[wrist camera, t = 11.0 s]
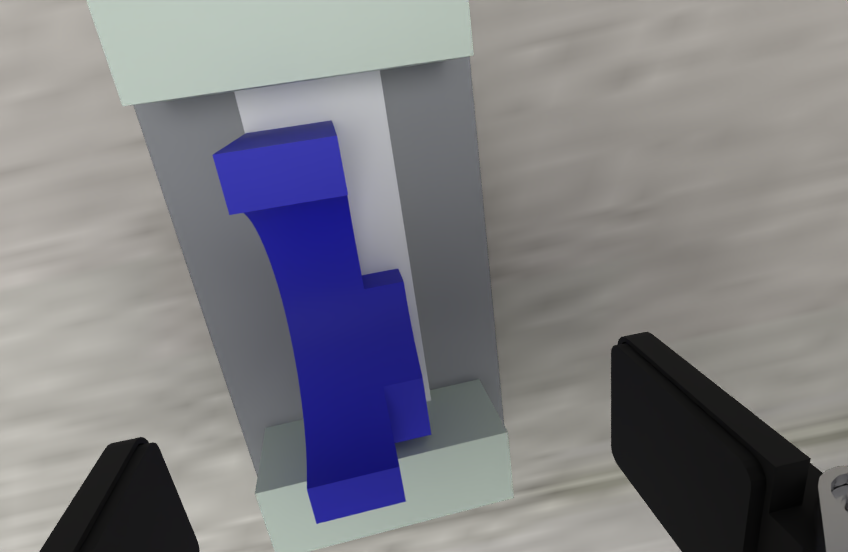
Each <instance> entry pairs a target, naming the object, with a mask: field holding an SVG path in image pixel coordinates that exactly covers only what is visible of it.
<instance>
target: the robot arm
mask: <svg viewBox="0 0 848 552" xmlns="http://www.w3.org/2000/svg"><path fill="white" fill-rule="evenodd" d="M611 448H612V453H613V456H614V459H615V461H616V463H617V465H618V466H619V467H620V469H621V470H622V471H623V473H624V474H625V476H626V477H627V478H628V480H629V481H630V482H631V484H632V485H633V486H634V488H635V489H636V490H637V492H638V493H639V494H640V496H641V497H642V498H643V500H644V501H645V502H646V504H647V505H648V507H649V508H650V509H651V511H652V512H653V513H654V515H655V516H656V517H657V519H658V520H659V521H660V523H661V524H662V525H663V527H664V528H665V529H666V531H667V532H668V533H669V535H670V536H671V537H672V539H673V540H674V542H675V543H676V544H677V546H678V547H679V548H680V550H681V551H682V552H848V466H837V467H834V468H831V469H828V470H826V471H825V472H824V473H822V472H821V471H819V470H818V469H817V468H816V467H814V466H813V465H812V464H811V463H810V458H809V457H808V456H807V455H805V454H804V453H803V452H801V451H800V450H799V449H798V448H796V447H795V446H794V445H793V444H791V443H790V442H789V441H787V440H786V439H785V438H784V437H782V436H781V435H780V434H779V433H777V432H776V431H775V430H773V429H772V428H771V427H770V426H768V425H767V424H766V423H765V422H763V421H762V420H761V419H759V418H758V417H757V416H756V415H754V414H753V413H752V412H751V411H749V410H748V409H747V408H745V407H744V406H743V405H742V404H740V403H739V402H738V401H736V400H735V399H734V398H733V397H731V396H730V395H729V394H728V393H726V392H725V391H724V390H722V389H721V388H720V387H719V386H717V385H716V384H715V383H714V382H712V381H711V380H710V379H708V378H707V377H706V376H705V375H703V374H702V373H701V372H700V371H698V370H697V369H696V368H694V367H693V366H692V365H691V364H689V363H688V362H687V361H686V360H684V359H683V358H682V357H680V356H679V355H678V354H677V353H675V352H674V351H673V350H672V349H670V348H669V347H668V346H666V345H665V344H664V343H663V342H661V341H660V340H659V339H658V338H656V337H655V336H654V335H652V334H651V333H649V332H643V333H638V334H634V335H629V336H624V337H621V338H620V339H619V341H618V345H615V346H613V347H612V351H611ZM40 552H199V545H198V541H197V539H196V536H195V534H194V531H193V529H192V527H191V524H190V522H189V519H188V517H187V514H186V512H185V510H184V507H183V505H182V502H181V500H180V497H179V495H178V493H177V490H176V488H175V485H174V483H173V480H172V478H171V475H170V473H169V471H168V468H167V466H166V463H165V461H164V458H163V456H162V454H161V451H160V449H159V447H158V445H157V444H156V443H149V442H148V441H147V440H146V439H145V438H143V437H140V438H135V439H130V440H125V441H120V442H116V443H112V444H109V445H108V446H107V447H106V448H105V450H104V451H103V453H102V455H101V456H100V458H99V459H98V461H97V462H96V464H95V466H94V467H93V469H92V470H91V472H90V473H89V475H88V476H87V478H86V480H85V481H84V483H83V484H82V486H81V487H80V489H79V491H78V492H77V494H76V495H75V497H74V498H73V500H72V501H71V503H70V505H69V506H68V508H67V509H66V511H65V512H64V514H63V516H62V517H61V519H60V520H59V522H58V523H57V525H56V526H55V528H54V530H53V531H52V533H51V534H50V536H49V537H48V539H47V541H46V542H45V544H44V545H43V547H42V548H41V550H40Z"/></svg>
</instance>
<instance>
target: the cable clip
mask: <svg viewBox="0 0 848 552" xmlns="http://www.w3.org/2000/svg"><path fill="white" fill-rule="evenodd" d="M213 159H214V162H215V166H216V170H217V173H218V177H219V180H220V184H221V187H222V191H223V194H224V198H225V201H226V205H227V209H228V212H229V215H233V214H239V213H244V214H245V215H246V216H247V217H248V218H249V220H250V221H251V222H252V224H253V225H254V227H255V229H256V231H257V233H258V234H259V236H260V239H261V241H262V243H263V245H264V248H265V250H266V253H267V255H268V258H269V261H270V263H271V266H272V269H273V272H274V275H275V278H276V282H277V285H278V288H279V292H280V295H281V299H282V303H283V307H284V311H285V315H286V319H287V323H288V328H289V332H290V337H291V342H292V347H293V352H294V357H295V363H296V368H297V374H298V381H299V387H300V395H301V402H302V410H303V419H304V430H305V442H306V462H307V492H308V496H309V499H310V503H311V506H312V510H313V513H314V517H315V521H316V524H319V523H323V522H327V521H331V520H335V519H339V518H343V517H347V516H351V515H355V514H359V513H363V512H367V511H370V510H374V509H378V508H382V507H386V506H390V505H394V504H398V503H402V502H406V499H405V493H404V488H403V483H402V477H401V472H400V467H399V462H398V457H397V452H396V447H395V443H398V442H402V441H407V440H411V439H415V438H419V437H424V436H428V435H431V428H430V422H429V415H428V409H427V402H426V396H425V389H424V383H423V377H422V373H421V368H420V364H419V359H418V355H417V350H416V345H415V341H414V336H413V331H412V326H411V320H410V315H409V310H408V304H407V298H406V292H405V286H404V281H403V279H402V276H401V274H400V272H399V269H398V268H397V269H392V270H387V271H382V272H376V273H371V274H366V275H362V274H361V269H360V264H359V258H358V253H357V247H356V242H355V237H354V231H353V225H352V220H351V214H350V208H349V202H348V196H347V195H348V191H347V186H346V181H345V175H344V170H343V165H342V159H341V154H340V149H339V143H338V138H337V134H336V131H335V128H334V125H333V122H332V120H330V121H323V122H317V123H310V124H303V125H297V126H290V127H283V128H277V129H270V130H263V131H257V132H250V133H245V134H244V135H242V136H241V137H239V138H238V139H236V140H234V141H233V142H231V143H230V144H228V145H227V146H225V147H224V148H222V149H221V150H219V151H217V152H216V153H214V154H213Z"/></svg>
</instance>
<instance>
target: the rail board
mask: <svg viewBox="0 0 848 552" xmlns="http://www.w3.org/2000/svg"><path fill="white" fill-rule="evenodd" d="M86 1H87V4H88V7H89V10H90V13H91V15H92V18H93V21H94V24H95V27H96V30H97V33H98V36H99V39H100V42H101V45H102V48H103V51H104V53H105V56H106V59H107V62H108V65H109V68H110V71H111V74H112V77H113V80H114V83H115V86H116V89H117V92H118V94H119V97H120V100H121V103H122V106H129V105H134V108H135V111H136V114H137V117H138V120H139V123H140V126H141V129H142V132H143V135H144V138H145V141H146V144H147V147H148V150H149V153H150V156H151V159H152V162H153V165H154V168H155V171H156V174H157V177H158V180H159V183H160V186H161V189H162V192H163V195H164V198H165V201H166V204H167V207H168V210H169V213H170V216H171V219H172V222H173V225H174V228H175V231H176V234H177V237H178V240H179V243H180V246H181V249H182V252H183V255H184V258H185V261H186V264H187V267H188V270H189V273H190V276H191V279H192V282H193V285H194V288H195V291H196V294H197V297H198V300H199V303H200V306H201V309H202V312H203V315H204V318H205V321H206V324H207V327H208V330H209V333H210V336H211V339H212V342H213V345H214V348H215V351H216V354H217V357H218V360H219V363H220V366H221V369H222V372H223V375H224V378H225V381H226V384H227V387H228V390H229V393H230V396H231V399H232V402H233V405H234V408H235V411H236V414H237V417H238V420H239V423H240V426H241V429H242V432H243V435H244V438H245V441H246V444H247V447H248V450H249V453H250V456H251V459H252V462H253V465H254V468H255V471H256V474H257V477H258V478H257V484H256V491H255V495H256V498H257V501H258V504H259V507H260V510H261V513H262V516H263V519H264V522H265V525H266V528H267V531H268V533H269V536H270V539H271V542H272V545H273V548H274V551H275V552H309V551H313V550H317V549H321V548H325V547H328V546H332V545H336V544H340V543H344V542H347V541H351V540H355V539H359V538H363V537H367V536H370V535H374V534H378V533H382V532H386V531H389V530H393V529H397V528H401V527H405V526H409V525H412V524H416V523H420V522H424V521H428V520H432V519H435V518H439V517H443V516H447V515H451V514H454V513H458V512H462V511H466V510H470V509H474V508H477V507H481V506H485V505H489V504H493V503H496V502H500V501H504V500H508V499H512V498H514V495H513V484H512V473H511V462H510V451H509V440H508V432H507V430H506V428H505V426H504V420H503V409H502V398H501V388H500V377H499V366H498V355H497V345H496V334H495V323H494V313H493V302H492V291H491V281H490V270H489V259H488V249H487V238H486V227H485V217H484V206H483V195H482V185H481V174H480V163H479V152H478V142H477V131H476V120H475V110H474V99H473V88H472V78H471V67H470V56H473V55H474V54H473V43H472V32H471V21H470V10H469V0H86ZM330 120H332V122H333V125H334V128H335V131H336V134H337V138H338V143H339V149H340V154H341V159H342V165H343V170H344V175H345V181H346V186H347V191H348V195H347V196H348V202H349V208H350V214H351V220H352V225H353V231H354V237H355V242H356V247H357V253H358V258H359V264H360V269H361V274H362V275H366V274H371V273H376V272H382V271H387V270H392V269H397V268H398V269H399V272H400V274H401V276H402V279H403V281H404V286H405V292H406V298H407V304H408V310H409V315H410V320H411V326H412V331H413V336H414V341H415V345H416V350H417V355H418V359H419V364H420V368H421V373H422V377H423V383H424V389H425V396H426V402H427V409H428V415H429V422H430V428H431V435H428V436H424V437H419V438H415V439H411V440H407V441H402V442H398V443H395V447H396V452H397V457H398V462H399V467H400V472H401V477H402V483H403V488H404V493H405V499H406V502H402V503H398V504H394V505H390V506H386V507H382V508H378V509H374V510H370V511H367V512H363V513H359V514H355V515H351V516H347V517H343V518H339V519H335V520H331V521H327V522H323V523H319V524H316V521H315V517H314V513H313V510H312V506H311V503H310V499H309V496H308V492H307V462H306V442H305V430H304V419H303V410H302V402H301V395H300V387H299V381H298V374H297V368H296V363H295V357H294V352H293V347H292V342H291V337H290V332H289V328H288V323H287V319H286V315H285V311H284V307H283V303H282V299H281V295H280V292H279V288H278V285H277V282H276V278H275V275H274V272H273V269H272V266H271V263H270V261H269V258H268V255H267V253H266V250H265V248H264V245H263V243H262V241H261V239H260V236H259V234H258V233H257V231H256V229H255V227H254V225H253V224H252V222H251V221H250V220H249V218H248V217H247V216H246V215H245V214H244V213H239V214H233V215H229V212H228V209H227V205H226V201H225V198H224V194H223V191H222V187H221V184H220V180H219V177H218V173H217V170H216V166H215V162H214V159H213V154H214V153H216V152H217V151H219V150H221V149H222V148H224V147H225V146H227V145H228V144H230V143H231V142H233V141H234V140H236V139H238V138H239V137H241V136H242V135H244V134H245V133H250V132H257V131H263V130H270V129H277V128H283V127H290V126H297V125H303V124H310V123H317V122H323V121H330Z"/></svg>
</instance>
